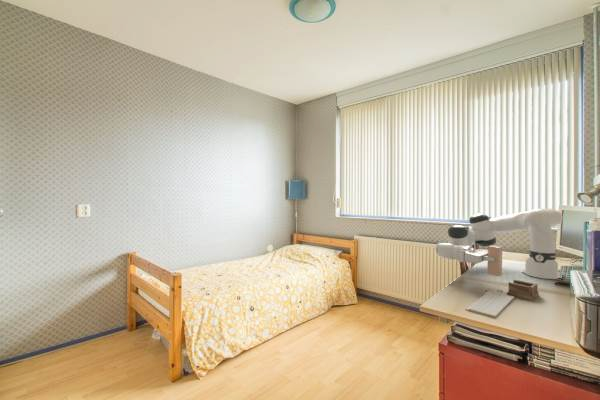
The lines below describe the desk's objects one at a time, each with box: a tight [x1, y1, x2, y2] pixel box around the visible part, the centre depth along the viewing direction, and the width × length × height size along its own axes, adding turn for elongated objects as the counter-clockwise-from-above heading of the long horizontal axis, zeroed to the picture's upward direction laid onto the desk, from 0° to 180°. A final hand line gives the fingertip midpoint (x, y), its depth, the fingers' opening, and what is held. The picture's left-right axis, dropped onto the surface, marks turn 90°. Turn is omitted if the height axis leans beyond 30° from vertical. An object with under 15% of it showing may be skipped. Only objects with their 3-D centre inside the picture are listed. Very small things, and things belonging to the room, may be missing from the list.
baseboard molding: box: [465, 288, 515, 319], centre depth 128 cm, size 31×3×12 cm
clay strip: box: [486, 245, 503, 277], centre depth 147 cm, size 4×5×14 cm
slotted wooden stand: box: [506, 279, 539, 302], centre depth 138 cm, size 13×9×6 cm
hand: (497, 258), depth 146 cm, fingers closed on clay strip, 4 cm apart
